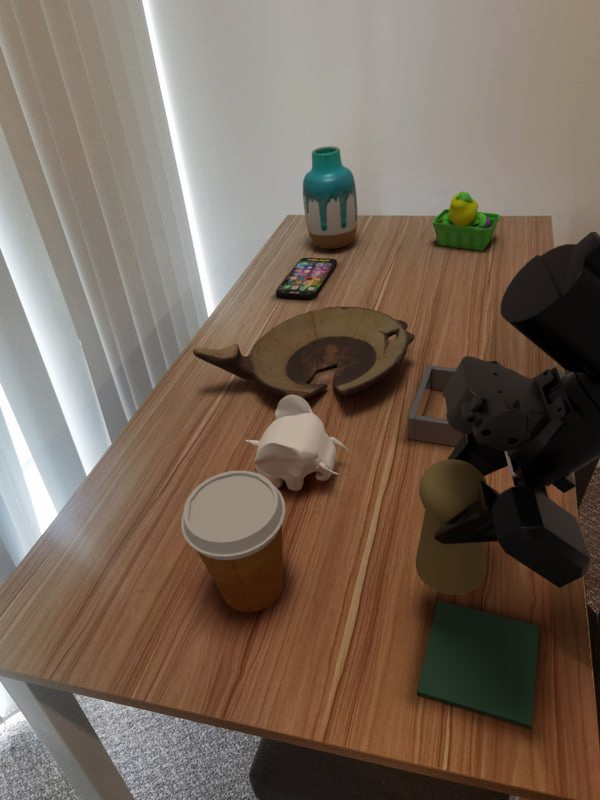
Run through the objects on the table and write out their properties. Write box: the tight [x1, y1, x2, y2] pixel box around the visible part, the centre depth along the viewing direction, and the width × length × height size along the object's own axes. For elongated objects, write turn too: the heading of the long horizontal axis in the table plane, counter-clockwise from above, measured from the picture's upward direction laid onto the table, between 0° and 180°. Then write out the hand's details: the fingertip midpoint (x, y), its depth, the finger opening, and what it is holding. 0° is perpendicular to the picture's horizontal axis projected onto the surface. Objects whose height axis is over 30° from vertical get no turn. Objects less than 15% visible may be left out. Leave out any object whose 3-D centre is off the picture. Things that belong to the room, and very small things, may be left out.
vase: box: [302, 145, 358, 250], centre depth 119 cm, size 11×11×19 cm
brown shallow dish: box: [192, 306, 416, 399], centre depth 87 cm, size 22×30×8 cm
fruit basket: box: [431, 191, 501, 252], centre depth 115 cm, size 11×9×11 cm
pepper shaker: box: [414, 459, 488, 596], centre depth 49 cm, size 6×6×11 cm
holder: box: [407, 364, 464, 447], centre depth 76 cm, size 12×12×4 cm
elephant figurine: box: [245, 395, 350, 492], centre depth 70 cm, size 10×12×9 cm
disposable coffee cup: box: [180, 470, 286, 613], centre depth 57 cm, size 10×10×12 cm
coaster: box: [416, 600, 540, 730], centre depth 52 cm, size 9×9×1 cm
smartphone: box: [275, 257, 338, 300], centre depth 113 cm, size 8×1×15 cm
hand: (435, 513), depth 49 cm, fingers closed on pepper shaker, 5 cm apart
